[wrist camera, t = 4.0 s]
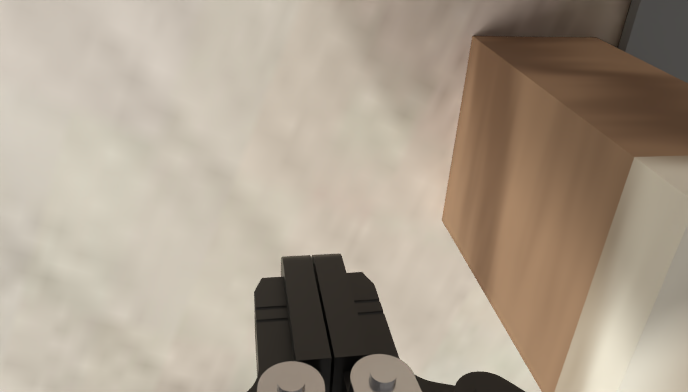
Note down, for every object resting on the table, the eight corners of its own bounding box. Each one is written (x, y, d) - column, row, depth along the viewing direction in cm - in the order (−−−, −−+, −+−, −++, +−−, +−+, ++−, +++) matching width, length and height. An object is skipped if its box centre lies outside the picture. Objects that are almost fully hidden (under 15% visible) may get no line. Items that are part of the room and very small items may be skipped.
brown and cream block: (441, 220, 25) (586, 466, 15) (472, 35, 21) (696, 203, 11) (547, 215, 26) (751, 445, 16) (596, 37, 22) (908, 194, 12)
